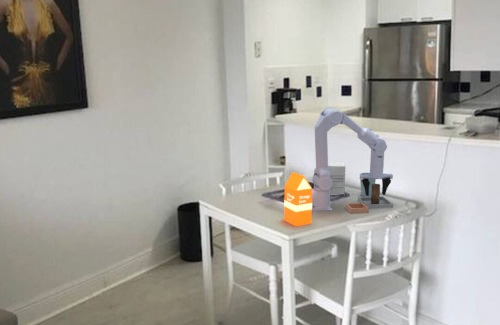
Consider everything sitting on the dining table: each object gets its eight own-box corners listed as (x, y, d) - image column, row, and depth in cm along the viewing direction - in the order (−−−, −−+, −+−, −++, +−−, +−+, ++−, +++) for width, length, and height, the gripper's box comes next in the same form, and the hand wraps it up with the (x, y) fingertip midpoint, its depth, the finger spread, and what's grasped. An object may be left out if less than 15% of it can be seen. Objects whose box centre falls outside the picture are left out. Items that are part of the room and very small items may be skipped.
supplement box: (323, 191, 257) (324, 161, 254) (341, 191, 257) (342, 161, 254) (325, 196, 248) (326, 165, 245) (344, 196, 248) (345, 165, 245)
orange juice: (299, 217, 218) (300, 170, 213) (311, 223, 210) (313, 175, 206) (283, 220, 214) (284, 172, 210) (295, 226, 206) (296, 177, 202)
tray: (366, 209, 227) (366, 204, 227) (357, 201, 239) (357, 197, 239) (392, 208, 229) (393, 203, 228) (382, 201, 240) (383, 196, 240)
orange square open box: (350, 214, 221) (350, 208, 220) (345, 209, 228) (345, 203, 228) (368, 214, 221) (368, 208, 221) (362, 208, 229) (362, 202, 228)
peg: (372, 205, 232) (373, 185, 230) (370, 203, 235) (370, 183, 233) (380, 205, 232) (381, 185, 230) (378, 202, 235) (378, 183, 233)
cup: (378, 196, 248) (379, 175, 245) (365, 198, 245) (366, 176, 242) (369, 192, 254) (369, 171, 252) (356, 194, 251) (356, 173, 249)
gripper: (363, 167, 225) (362, 197, 228) (396, 166, 227) (394, 196, 230) (358, 164, 232) (357, 193, 235) (390, 163, 234) (388, 192, 237)
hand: (375, 194), depth 233 cm, fingers open, 7 cm apart
